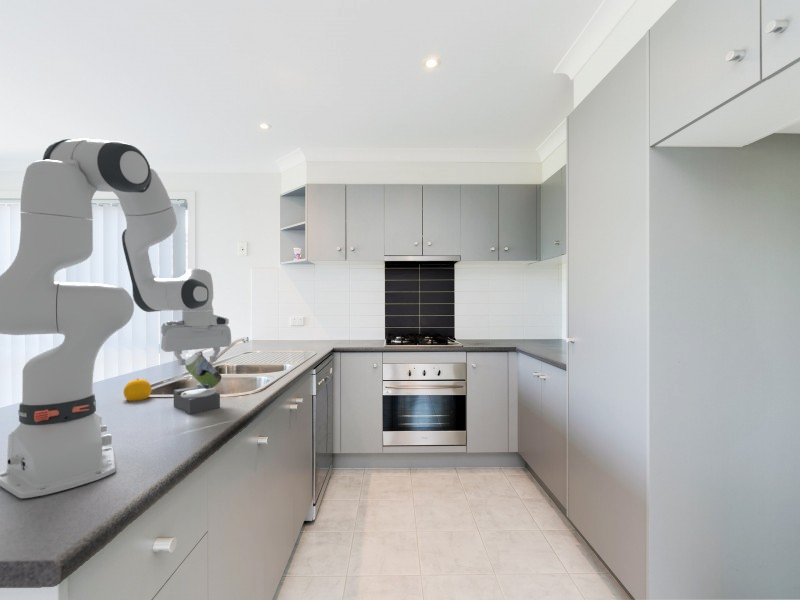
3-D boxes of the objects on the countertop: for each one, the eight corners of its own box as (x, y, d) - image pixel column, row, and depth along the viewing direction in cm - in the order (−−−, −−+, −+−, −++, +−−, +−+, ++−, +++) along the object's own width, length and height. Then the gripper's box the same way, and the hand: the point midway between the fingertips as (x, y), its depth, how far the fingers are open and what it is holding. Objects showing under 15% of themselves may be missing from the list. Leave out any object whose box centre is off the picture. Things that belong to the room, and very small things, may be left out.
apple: (121, 404, 124) (122, 382, 124) (125, 399, 131) (125, 378, 131) (150, 401, 128) (150, 379, 129) (152, 396, 135) (152, 375, 135)
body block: (220, 407, 120) (220, 388, 120) (188, 414, 112) (188, 393, 112) (203, 401, 128) (203, 382, 128) (172, 407, 121) (172, 387, 121)
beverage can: (227, 379, 124) (209, 350, 119) (209, 394, 118) (189, 364, 114) (216, 377, 127) (198, 349, 122) (198, 392, 122) (178, 363, 117)
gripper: (165, 321, 109) (165, 368, 109) (233, 319, 125) (233, 360, 125) (157, 321, 113) (157, 366, 113) (224, 319, 129) (224, 358, 129)
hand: (198, 363), depth 119 cm, fingers open, 8 cm apart
